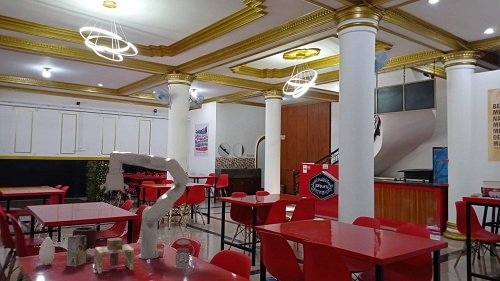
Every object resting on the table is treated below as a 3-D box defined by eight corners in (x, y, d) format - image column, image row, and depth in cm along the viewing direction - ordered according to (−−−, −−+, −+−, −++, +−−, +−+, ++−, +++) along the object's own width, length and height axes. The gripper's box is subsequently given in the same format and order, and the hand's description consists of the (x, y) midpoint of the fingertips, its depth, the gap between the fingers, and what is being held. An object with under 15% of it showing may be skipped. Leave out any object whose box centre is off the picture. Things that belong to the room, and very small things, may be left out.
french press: (172, 264, 224) (173, 221, 226) (191, 263, 229) (192, 221, 230) (175, 269, 215) (177, 224, 217) (195, 267, 220) (197, 223, 221)
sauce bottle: (56, 264, 217) (58, 232, 218) (41, 267, 211) (43, 234, 213) (51, 262, 222) (52, 231, 224) (36, 264, 217) (38, 232, 218)
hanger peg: (118, 262, 218) (120, 237, 219) (121, 265, 212) (122, 240, 213) (106, 263, 214) (107, 238, 215) (108, 266, 208) (109, 241, 209)
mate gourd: (68, 259, 230) (70, 225, 231) (73, 254, 243) (75, 222, 245) (96, 258, 234) (97, 225, 235) (99, 253, 247) (101, 222, 248)
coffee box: (76, 261, 225) (78, 234, 226) (86, 262, 223) (87, 235, 224) (66, 265, 216) (67, 237, 217) (76, 266, 214) (77, 237, 215)
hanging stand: (126, 263, 224) (127, 244, 224) (132, 269, 212) (133, 249, 212) (94, 267, 214) (95, 247, 215) (98, 273, 202) (99, 252, 203)
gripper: (128, 171, 244) (126, 198, 243) (99, 171, 235) (98, 199, 234) (131, 172, 238) (129, 199, 237) (101, 171, 229) (100, 200, 228)
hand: (114, 199), depth 235 cm, fingers open, 9 cm apart
